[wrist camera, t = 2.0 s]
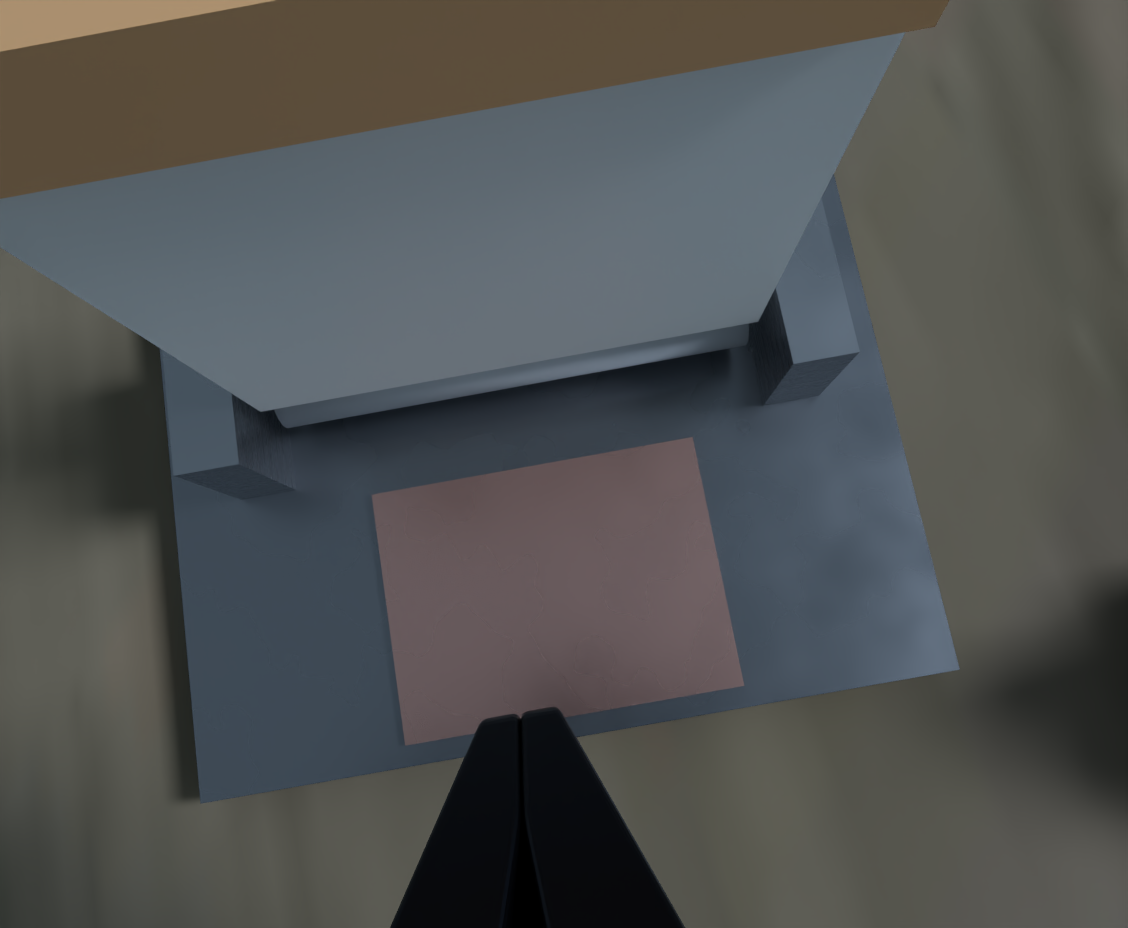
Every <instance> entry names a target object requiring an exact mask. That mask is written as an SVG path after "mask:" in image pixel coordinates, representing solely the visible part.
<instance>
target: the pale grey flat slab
mask: <svg viewBox="0 0 1128 928" xmlns="http://www.w3.org/2000/svg"><path fill="white" fill-rule="evenodd" d="M948 2H949V0H0V248H2V249H4V250H5V251H7V252H8V253H10V254H11V255H13V256H15V257H16V258H18V259H19V260H21V261H23V262H24V263H26V264H27V265H29V266H31V267H32V268H34V269H35V270H37V271H38V272H40V273H42V274H43V275H45V276H46V277H48V278H50V279H51V280H53V281H54V282H56V283H57V284H59V285H61V286H62V287H64V288H65V289H67V290H69V291H70V292H72V293H73V294H75V295H76V296H78V297H80V298H81V299H83V300H84V301H86V302H88V303H89V304H91V305H92V306H94V307H95V308H97V309H99V310H100V311H102V312H103V313H105V314H107V315H108V316H110V317H111V318H113V319H114V320H116V321H118V322H119V323H121V324H122V325H124V326H126V327H127V328H129V329H130V330H132V331H133V332H135V333H137V334H138V335H140V336H141V337H143V338H145V339H146V340H148V341H149V342H151V343H152V344H154V345H156V346H157V347H159V348H160V349H162V350H164V351H165V352H167V353H168V354H170V355H171V356H173V357H175V358H176V359H178V360H179V361H181V362H183V363H184V364H186V365H187V366H189V367H190V368H192V369H194V370H195V371H197V372H198V373H200V374H202V375H203V376H205V377H206V378H208V379H209V380H211V381H213V382H214V383H216V384H217V385H219V386H221V387H222V388H224V389H225V390H227V391H228V392H230V393H232V394H233V395H235V396H236V397H238V398H240V399H241V400H243V401H244V402H246V403H247V404H249V405H251V406H252V407H254V408H255V409H257V410H259V411H260V412H262V411H268V410H273V409H274V410H275V413H276V415H277V417H278V419H279V421H280V422H281V424H282V425H283V426H284V427H286V428H292V427H297V426H303V425H308V424H314V423H319V422H325V421H330V420H336V419H341V418H347V417H352V416H358V415H364V414H369V413H375V412H380V411H386V410H391V409H397V408H402V407H408V406H413V405H419V404H424V403H430V402H435V401H441V400H446V399H452V398H458V397H463V396H469V395H474V394H480V393H485V392H491V391H496V390H502V389H507V388H513V387H518V386H524V385H529V384H535V383H540V382H546V381H552V380H557V379H563V378H568V377H574V376H579V375H585V374H590V373H596V372H601V371H607V370H612V369H618V368H623V367H629V366H634V365H640V364H646V363H651V362H657V361H662V360H668V359H673V358H679V357H684V356H690V355H695V354H701V353H706V352H712V351H717V350H723V349H728V348H734V347H740V346H745V345H746V344H747V342H748V338H749V323H754V322H758V321H759V319H760V317H761V315H762V313H763V311H764V309H765V307H766V305H767V303H768V301H769V299H770V298H771V296H772V294H773V292H774V290H775V288H776V286H777V284H778V282H779V280H780V278H781V276H782V274H783V272H784V270H785V268H786V266H787V264H788V262H789V260H790V258H791V256H792V254H793V252H794V250H795V248H796V246H797V244H798V242H799V241H800V239H801V237H802V235H803V233H804V231H805V229H806V227H807V225H808V223H809V221H810V219H811V217H812V215H813V213H814V211H815V209H816V207H817V205H818V203H819V201H820V199H821V197H822V195H823V193H824V191H825V189H826V187H827V185H828V184H829V182H830V180H831V178H832V176H833V174H834V172H835V170H836V168H837V166H838V164H839V162H840V160H841V158H842V156H843V154H844V152H845V150H846V148H847V146H848V144H849V142H850V140H851V138H852V136H853V134H854V132H855V130H856V128H857V127H858V125H859V123H860V121H861V119H862V117H863V115H864V113H865V111H866V109H867V107H868V105H869V103H870V101H871V99H872V97H873V95H874V93H875V91H876V89H877V87H878V85H879V83H880V81H881V79H882V77H883V75H884V73H885V71H886V69H887V68H888V66H889V64H890V62H891V60H892V58H893V56H894V54H895V52H896V50H897V48H898V46H899V44H900V42H901V40H902V38H903V36H904V34H905V32H909V31H914V30H920V29H925V28H931V27H935V26H936V24H937V22H938V20H939V18H940V17H941V15H942V13H943V11H944V9H945V7H946V6H947V4H948Z"/></svg>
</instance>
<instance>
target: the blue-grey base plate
mask: <svg viewBox="0 0 1128 928" xmlns="http://www.w3.org/2000/svg"><path fill="white" fill-rule="evenodd" d="M160 358H161V369H162V380H163V391H164V403H165V414H166V425H167V436H168V447H169V458H170V469H171V480H172V491H173V502H174V514H175V525H176V536H177V547H178V558H179V569H180V580H181V591H182V602H183V614H184V625H185V636H186V647H187V658H188V669H189V680H190V691H191V702H192V713H193V725H194V736H195V747H196V758H197V769H198V780H199V791H200V802H201V803H206V802H212V801H218V800H223V799H229V798H235V797H240V796H246V795H252V794H257V793H263V792H269V791H274V790H280V789H286V788H291V787H297V786H303V785H308V784H314V783H320V782H325V781H331V780H337V779H342V778H348V777H354V776H359V775H365V774H371V773H376V772H382V771H388V770H393V769H399V768H405V767H410V766H416V765H422V764H427V763H433V762H439V761H444V760H450V759H456V758H461V757H465V755H466V753H467V751H468V748H469V746H470V744H471V741H472V739H473V737H474V735H475V732H476V730H477V728H478V726H479V724H480V723H481V722H482V721H483V720H484V719H487V718H491V717H497V716H502V715H508V714H517V715H519V716H520V718H521V717H522V714H523V713H524V712H526V711H531V710H536V709H542V708H548V707H557V708H559V709H560V710H561V712H562V713H563V715H564V717H565V718H566V720H567V722H568V724H569V725H570V727H571V729H572V731H573V732H574V734H575V736H576V737H580V736H586V735H592V734H597V733H603V732H609V731H614V730H620V729H626V728H631V727H637V726H643V725H648V724H654V723H659V722H665V721H671V720H676V719H682V718H688V717H693V716H699V715H705V714H710V713H716V712H722V711H727V710H733V709H739V708H744V707H750V706H756V705H761V704H767V703H773V702H778V701H784V700H790V699H795V698H801V697H807V696H812V695H818V694H824V693H829V692H835V691H841V690H846V689H852V688H858V687H863V686H869V685H875V684H880V683H886V682H892V681H897V680H903V679H909V678H914V677H920V676H926V675H931V674H937V673H943V672H948V671H954V670H960V669H959V665H958V661H957V657H956V653H955V649H954V645H953V641H952V637H951V634H950V630H949V626H948V622H947V618H946V614H945V610H944V606H943V602H942V598H941V594H940V590H939V586H938V582H937V578H936V575H935V571H934V567H933V563H932V559H931V555H930V551H929V547H928V543H927V539H926V535H925V531H924V527H923V523H922V519H921V516H920V512H919V508H918V504H917V500H916V496H915V492H914V488H913V484H912V480H911V476H910V472H909V468H908V464H907V460H906V457H905V453H904V449H903V445H902V441H901V437H900V433H899V429H898V425H897V421H896V417H895V413H894V409H893V405H892V401H891V398H890V394H889V390H888V386H887V382H886V378H885V374H884V370H883V366H882V362H881V358H880V354H879V350H878V346H877V342H876V339H875V335H874V331H873V327H872V323H871V319H870V315H869V311H868V307H867V303H866V299H865V295H864V291H863V287H862V284H861V280H860V276H859V272H858V268H857V264H856V260H855V256H854V252H853V248H852V244H851V240H850V236H849V232H848V228H847V225H846V221H845V217H844V213H843V209H842V205H841V201H840V197H839V193H838V189H837V185H836V181H835V177H834V174H833V176H832V178H831V180H830V182H829V184H828V185H827V187H826V189H825V191H824V193H823V195H822V197H821V199H820V201H819V203H818V205H817V207H816V209H815V211H814V213H813V215H812V217H811V219H810V221H809V223H808V225H807V227H806V229H805V231H804V233H803V235H802V237H801V239H800V241H799V242H798V244H797V246H796V248H795V250H794V252H793V254H792V256H791V258H790V260H789V262H788V264H787V266H786V268H785V270H784V272H783V274H782V276H781V278H780V280H779V282H778V284H777V286H776V288H775V290H774V292H773V294H772V296H771V298H770V299H769V301H768V303H767V305H766V307H765V309H764V311H763V313H762V315H761V317H760V319H759V321H758V322H754V323H749V338H748V342H747V344H746V345H745V346H740V347H734V348H728V349H723V350H717V351H712V352H706V353H701V354H695V355H690V356H684V357H679V358H673V359H668V360H662V361H657V362H651V363H646V364H640V365H634V366H629V367H623V368H618V369H612V370H607V371H601V372H596V373H590V374H585V375H579V376H574V377H568V378H563V379H557V380H552V381H546V382H540V383H535V384H529V385H524V386H518V387H513V388H507V389H502V390H496V391H491V392H485V393H480V394H474V395H469V396H463V397H458V398H452V399H446V400H441V401H435V402H430V403H424V404H419V405H413V406H408V407H402V408H397V409H391V410H386V411H380V412H375V413H369V414H364V415H358V416H352V417H347V418H341V419H336V420H330V421H325V422H319V423H314V424H308V425H303V426H297V427H292V428H286V427H284V426H283V425H282V424H281V422H280V421H279V419H278V417H277V415H276V413H275V410H274V409H273V410H268V411H262V412H260V411H259V410H257V409H255V408H254V407H252V406H251V405H249V404H247V403H246V402H244V401H243V400H241V399H240V398H238V397H236V396H235V395H233V394H232V393H230V392H228V391H227V390H225V389H224V388H222V387H221V386H219V385H217V384H216V383H214V382H213V381H211V380H209V379H208V378H206V377H205V376H203V375H202V374H200V373H198V372H197V371H195V370H194V369H192V368H190V367H189V366H187V365H186V364H184V363H183V362H181V361H179V360H178V359H176V358H175V357H173V356H171V355H170V354H168V353H167V352H165V351H164V350H162V349H160Z"/></svg>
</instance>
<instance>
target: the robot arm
mask: <svg viewBox="0 0 1128 928" xmlns="http://www.w3.org/2000/svg"><path fill="white" fill-rule="evenodd" d="M390 928H685V927H684V925H683V923H682V921H681V920H680V918H679V916H678V914H677V913H676V911H675V909H674V907H673V906H672V904H671V902H670V900H669V899H668V897H667V895H666V893H665V892H664V890H663V888H662V886H661V885H660V883H659V881H658V879H657V878H656V876H655V874H654V872H653V871H652V869H651V867H650V865H649V864H648V862H647V860H646V858H645V857H644V855H643V853H642V851H641V850H640V848H639V846H638V844H637V843H636V841H635V839H634V837H633V836H632V834H631V832H630V830H629V829H628V827H627V825H626V823H625V822H624V820H623V818H622V816H621V815H620V813H619V811H618V809H617V808H616V806H615V804H614V802H613V801H612V799H611V797H610V795H609V794H608V792H607V790H606V788H605V787H604V785H603V783H602V781H601V780H600V778H599V776H598V774H597V773H596V771H595V769H594V767H593V766H592V764H591V762H590V760H589V759H588V757H587V755H586V753H585V752H584V750H583V748H582V746H581V745H580V743H579V741H578V739H577V738H576V736H575V734H574V732H573V731H572V729H571V727H570V725H569V724H568V722H567V720H566V718H565V717H564V715H563V713H562V712H561V710H560V709H559V708H557V707H548V708H542V709H536V710H531V711H526V712H524V713H523V714H522V717H521V718H520V716H519V715H517V714H508V715H502V716H497V717H491V718H487V719H484V720H483V721H482V722H481V723H480V724H479V726H478V728H477V730H476V732H475V735H474V737H473V739H472V741H471V744H470V746H469V748H468V751H467V753H466V755H465V757H464V760H463V762H462V764H461V767H460V769H459V771H458V773H457V776H456V778H455V780H454V783H453V785H452V787H451V789H450V792H449V794H448V796H447V799H446V801H445V803H444V805H443V808H442V810H441V812H440V815H439V817H438V819H437V821H436V824H435V826H434V828H433V831H432V833H431V835H430V837H429V840H428V842H427V844H426V847H425V849H424V851H423V853H422V856H421V858H420V860H419V863H418V865H417V867H416V869H415V872H414V874H413V876H412V879H411V881H410V883H409V885H408V888H407V890H406V892H405V895H404V897H403V899H402V901H401V904H400V906H399V908H398V911H397V913H396V915H395V918H394V920H393V922H392V924H391V927H390Z"/></svg>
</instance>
